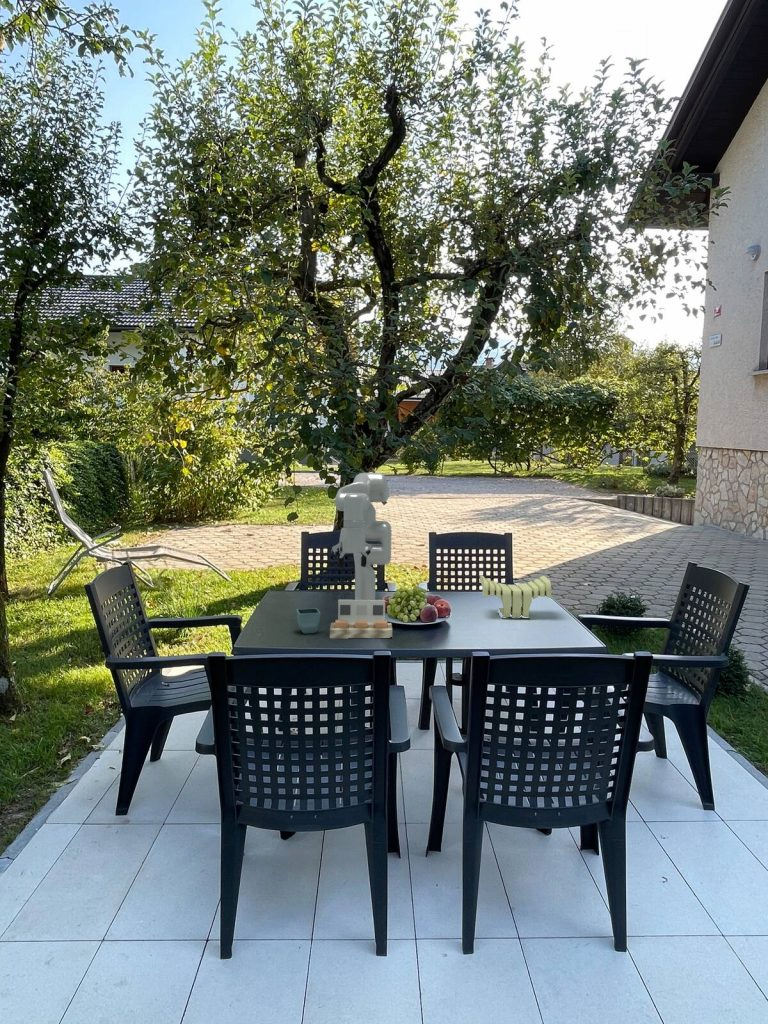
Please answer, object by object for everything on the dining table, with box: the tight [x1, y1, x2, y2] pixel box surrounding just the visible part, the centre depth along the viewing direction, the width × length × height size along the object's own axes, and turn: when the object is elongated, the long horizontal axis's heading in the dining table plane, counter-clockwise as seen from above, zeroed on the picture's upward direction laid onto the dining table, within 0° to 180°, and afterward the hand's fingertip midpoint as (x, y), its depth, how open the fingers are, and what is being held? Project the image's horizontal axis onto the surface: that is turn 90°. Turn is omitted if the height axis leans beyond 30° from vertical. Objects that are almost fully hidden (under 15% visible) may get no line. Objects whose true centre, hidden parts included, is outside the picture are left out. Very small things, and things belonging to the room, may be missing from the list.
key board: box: [329, 622, 393, 639], centre depth 295 cm, size 25×12×4 cm, turn 91°
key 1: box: [334, 619, 348, 628], centre depth 295 cm, size 5×5×4 cm
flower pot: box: [295, 607, 321, 635], centre depth 298 cm, size 9×9×9 cm
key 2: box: [375, 619, 388, 628], centre depth 295 cm, size 5×5×4 cm
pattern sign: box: [337, 599, 386, 623], centre depth 310 cm, size 20×5×11 cm, turn 91°
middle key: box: [355, 620, 367, 628], centre depth 295 cm, size 5×5×4 cm
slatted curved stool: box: [479, 574, 552, 618], centre depth 332 cm, size 30×16×18 cm, turn 90°
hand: (352, 567), depth 291 cm, fingers open, 9 cm apart
